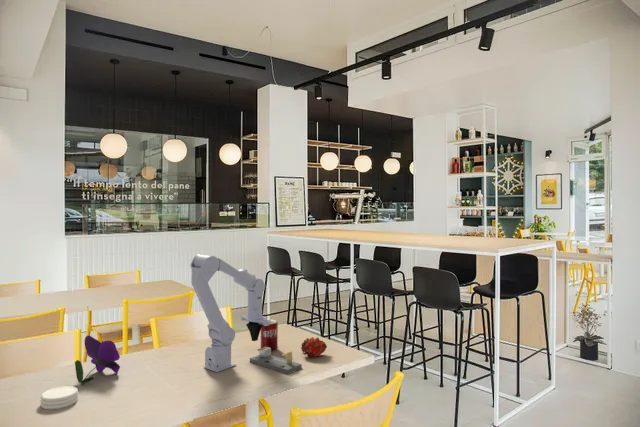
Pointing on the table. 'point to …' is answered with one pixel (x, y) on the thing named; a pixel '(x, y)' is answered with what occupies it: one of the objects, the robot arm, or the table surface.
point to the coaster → (59, 397)
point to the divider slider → (264, 352)
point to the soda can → (270, 335)
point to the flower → (98, 357)
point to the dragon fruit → (313, 347)
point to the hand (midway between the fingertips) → (254, 340)
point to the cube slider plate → (277, 363)
